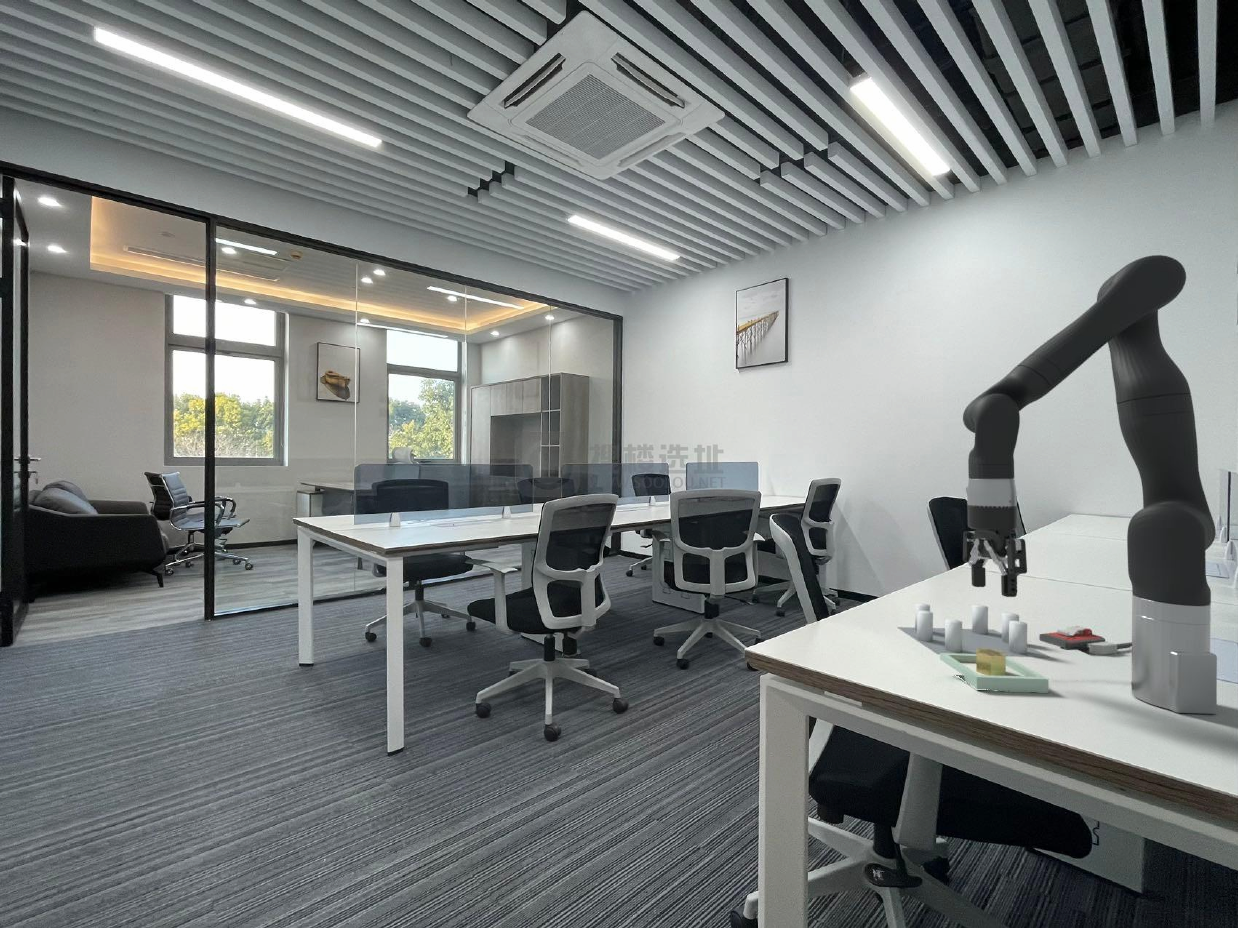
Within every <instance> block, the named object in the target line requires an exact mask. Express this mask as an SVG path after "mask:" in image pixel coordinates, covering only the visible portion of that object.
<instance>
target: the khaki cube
mask: <svg viewBox="0 0 1238 928" xmlns="http://www.w3.org/2000/svg"><path fill="white" fill-rule="evenodd" d="M1006 657H1007V656H1006V654H1005V653H1004V652H1000V651H997V650H993V649H984V648H977V662H976V665H975V666H976V672H975V673H979V674H981V675H994V676H1007V675H1006V674H1007V670H1006V668H1007V666H1006Z"/></svg>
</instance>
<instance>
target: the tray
mask: <svg viewBox="0 0 1238 928" xmlns="http://www.w3.org/2000/svg"><path fill="white" fill-rule="evenodd" d="M939 660H940V661H942V662H943V663H945V664H946V665H947V666H949V667H950V668H951V669H953V670H955V671H956V672H957V673H959V674H955V675H956V676H959V677H960V678H962V679H963V680H964V681H966V682H967V683H969V684H971V685H972V686H974V687H975V688H976V689H986V690H987V689H988V690H997V691H996V692H999V691H1005V692H1007V693H1030V692H1036V693H1037V692H1038V693H1037V694H1049V686H1050V685H1049V684H1050V682H1049V679H1048V678H1047V677H1045V676H1043V675H1042V674H1040V673H1038V672H1036V671H1034V670H1032V669H1031V668H1028V667H1027V666H1025V665H1023V664H1021V663H1019V662H1017V661H1015V660H1014V659H1012V658H1011V657H1009V656H1006V667H1008V668H1010V669H1011V670H1013V671H1015V672H1016V673H1019V674H1020V675H1018V676H1017V675H1014V676H1013V675H1006V676H994V675H985V674H978V672H975V671H974V670H972V669H971V668H969V667H968V666H966V665H965V664H963V663H977V654H956V653H940V654H939ZM956 676H955V677H956ZM1008 691H1009V692H1008ZM1005 692H1004V693H1005ZM1036 693H1035V694H1036Z"/></svg>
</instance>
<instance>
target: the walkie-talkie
mask: <svg viewBox="0 0 1238 928" xmlns="http://www.w3.org/2000/svg"><path fill="white" fill-rule="evenodd" d="M1038 638H1039V640H1038V641H1041V642H1044V643H1047V644H1050V645H1055V646H1057V647H1059V648H1060V649H1061V650H1065V651H1070V650H1071V651H1072V650H1073V651H1074V650H1077V651H1080V652H1081V653H1084V654H1085V653H1087V654H1090V655H1100V656H1103V655H1111V654H1113V655H1114V654H1118V651H1119V650H1123V649H1129V648H1132V641H1130V642H1124V643H1122V642H1121V643H1113V642H1110V641H1106V638H1104V636H1101V635H1097V634H1093V631H1092V629H1091V628H1087V627H1083V626H1078V625H1076V626H1068V627H1066V628H1065V629H1064V630H1062V629H1057V631H1056V632H1047V633H1040V634H1039V637H1038Z"/></svg>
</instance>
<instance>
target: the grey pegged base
mask: <svg viewBox="0 0 1238 928" xmlns="http://www.w3.org/2000/svg"><path fill="white" fill-rule="evenodd" d="M971 609H972V611H971V612H972V613H971V614H972V615H971V622H972V623H971V628H963V621H961V620H958V619H953V618H951V619H950V618H946V619H945V620H944V621H945V622H944V623H945V624H944V626H945V627H944V628H943V627H934V612H932V611H931V605H930V604H927V603H922V602H921V603H920V602H917V603H915V604H914V610H915V611H914V617H915V618H914V627H912V626H911V627H910V626H909V627H906V626H905V627H903V626H900V627H899V626H896V627H897V629H899V630H900V631H902V632H903V633H904V634H906V635H908V636H909V637H910V638H912V639H914V640H915V641H917V642H918V643H920V644H921V645H922V646H924V647H925V648H927V649H928V650H930V651H932V652H933V653H935V654H936V655H940V653H956V654H977V648H984V649H993V650H997V651H1000V652H1004V653H1005V654H1006V657H1019V658H1020V657H1021V658H1022V657H1023V658H1024V657H1026V658H1030V657H1031V658H1050V656H1049V655H1047V654H1045V653H1043V652H1042V651H1041V652H1040V651H1039V650H1037V649H1035V648H1033V647H1030V646H1029V645H1028V623H1027V622H1023V621H1020V615H1019V614H1018V613H1017V614H1016V613H1013V612H1002V613H1001V632H999V631H997V630H996V629H989V607H988V606H987V605H982V604H973V605H972V606H971Z"/></svg>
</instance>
